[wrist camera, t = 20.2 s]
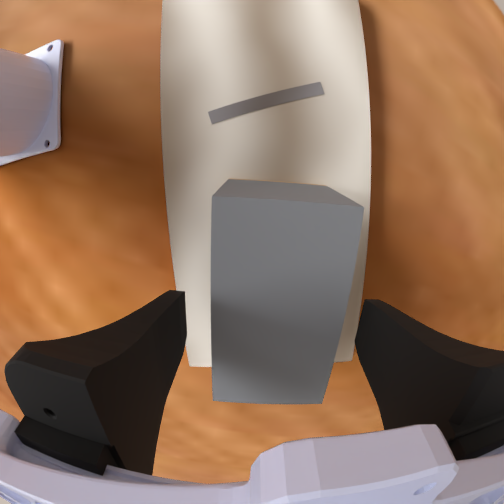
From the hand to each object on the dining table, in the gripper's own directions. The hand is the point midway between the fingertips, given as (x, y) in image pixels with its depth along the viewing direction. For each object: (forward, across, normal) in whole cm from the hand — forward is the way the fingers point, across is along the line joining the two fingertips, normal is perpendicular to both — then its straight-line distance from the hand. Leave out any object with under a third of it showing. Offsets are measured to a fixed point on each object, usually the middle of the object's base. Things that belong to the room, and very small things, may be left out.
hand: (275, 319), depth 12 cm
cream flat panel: (+7, 0, -5) cm, 8 cm away
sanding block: (+5, 0, 0) cm, 5 cm away
